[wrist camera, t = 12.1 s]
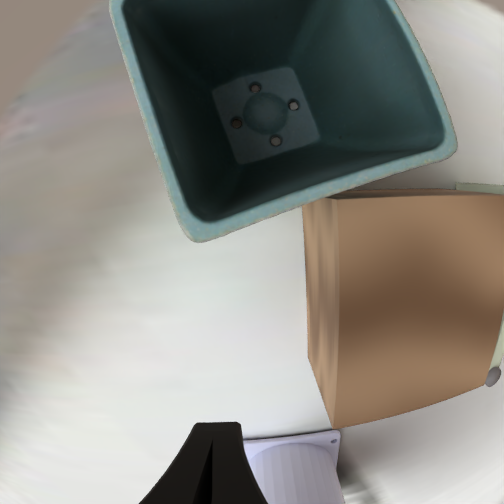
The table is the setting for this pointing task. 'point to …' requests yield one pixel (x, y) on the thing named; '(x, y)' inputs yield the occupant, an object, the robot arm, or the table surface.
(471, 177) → the table surface
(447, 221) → the cabinet
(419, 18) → the table surface
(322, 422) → the table surface
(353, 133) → the flower pot
